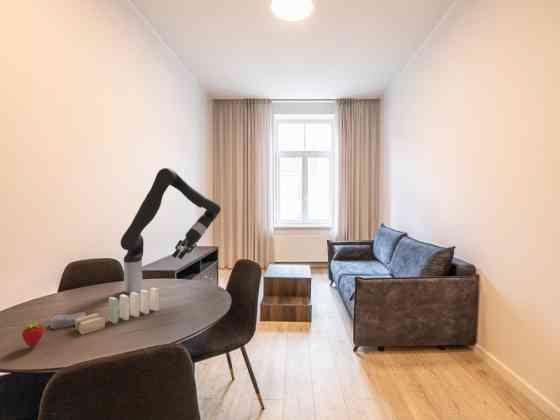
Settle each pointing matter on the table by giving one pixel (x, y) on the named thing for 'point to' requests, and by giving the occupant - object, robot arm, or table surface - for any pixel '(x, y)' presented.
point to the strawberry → (32, 334)
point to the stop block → (89, 323)
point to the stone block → (65, 320)
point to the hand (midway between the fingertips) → (176, 257)
